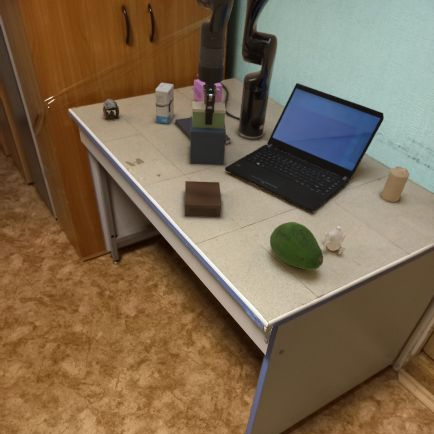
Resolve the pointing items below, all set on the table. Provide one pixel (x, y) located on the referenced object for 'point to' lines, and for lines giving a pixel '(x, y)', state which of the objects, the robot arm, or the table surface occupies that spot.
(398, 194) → the candle
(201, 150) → the blue box
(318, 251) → the fruit
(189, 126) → the notebook
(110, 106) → the helmet
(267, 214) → the table surface
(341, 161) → the laptop
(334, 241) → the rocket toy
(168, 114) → the ink box
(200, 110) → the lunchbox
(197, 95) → the teapot
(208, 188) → the low shelf
